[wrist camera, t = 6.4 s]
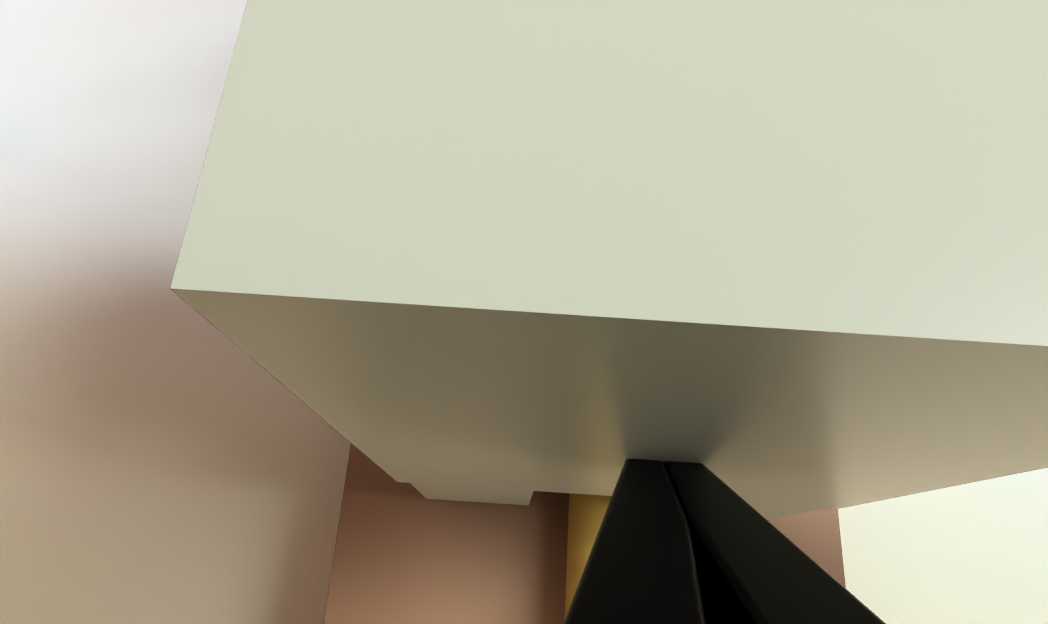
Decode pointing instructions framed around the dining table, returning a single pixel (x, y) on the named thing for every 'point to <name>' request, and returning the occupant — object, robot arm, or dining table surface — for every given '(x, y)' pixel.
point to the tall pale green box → (641, 238)
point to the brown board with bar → (484, 553)
